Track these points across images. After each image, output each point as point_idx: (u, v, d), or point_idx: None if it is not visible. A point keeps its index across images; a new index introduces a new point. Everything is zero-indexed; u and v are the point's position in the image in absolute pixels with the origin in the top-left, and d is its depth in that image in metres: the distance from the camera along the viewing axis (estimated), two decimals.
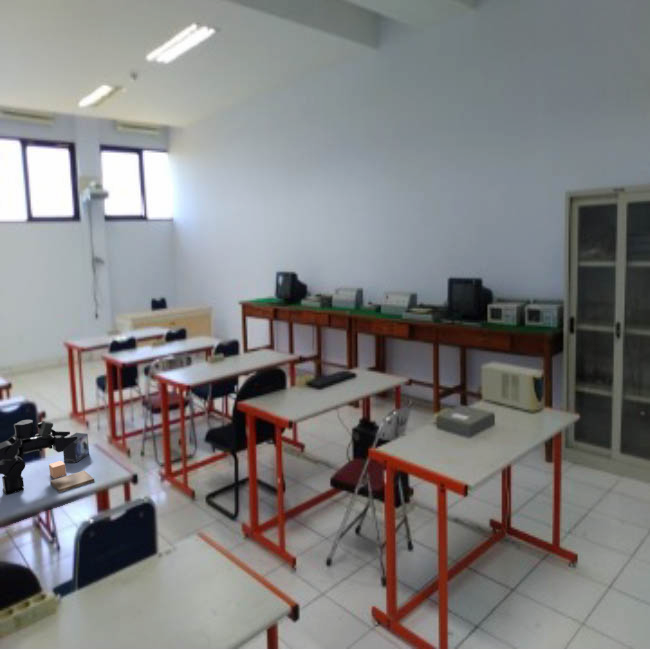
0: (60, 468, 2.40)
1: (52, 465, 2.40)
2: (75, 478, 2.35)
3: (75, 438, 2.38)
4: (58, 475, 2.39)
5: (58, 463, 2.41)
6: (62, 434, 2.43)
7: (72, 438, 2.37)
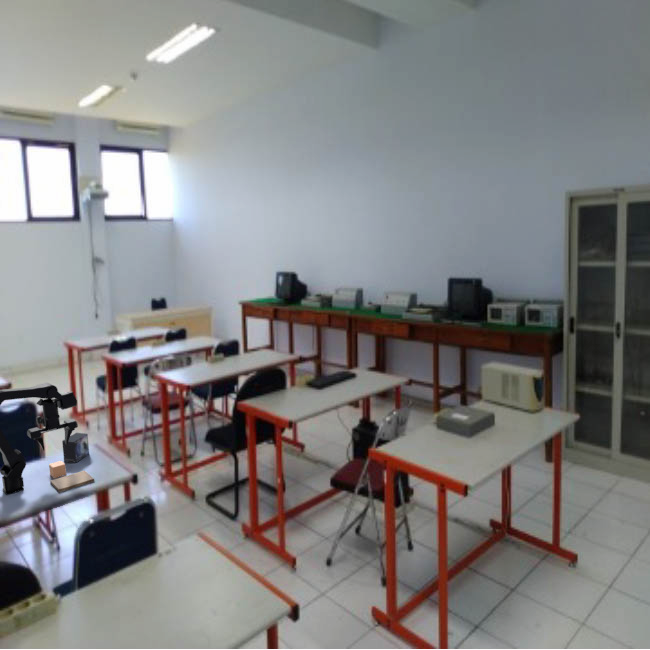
0: (60, 468, 2.40)
1: (52, 465, 2.40)
2: (75, 478, 2.35)
3: None
4: (58, 475, 2.39)
5: (58, 463, 2.41)
6: None
7: None
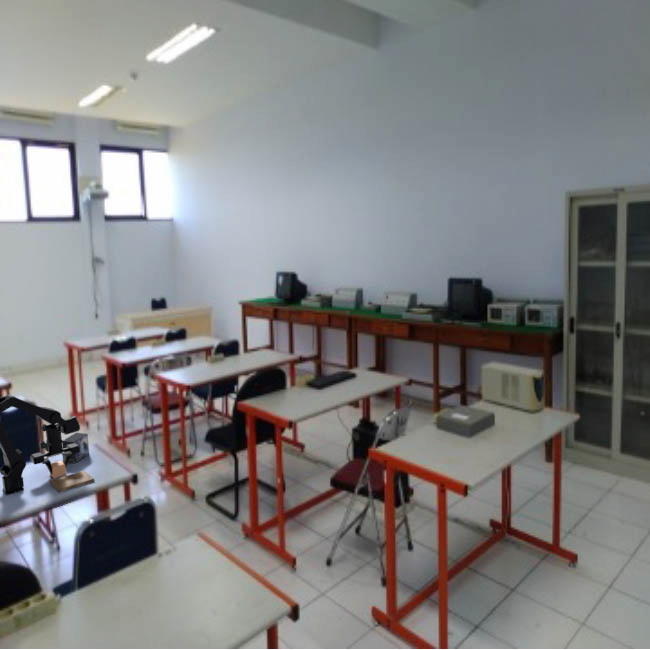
0: (60, 468, 2.40)
1: (52, 465, 2.39)
2: (75, 478, 2.35)
3: None
4: (58, 475, 2.39)
5: (58, 463, 2.41)
6: None
7: None
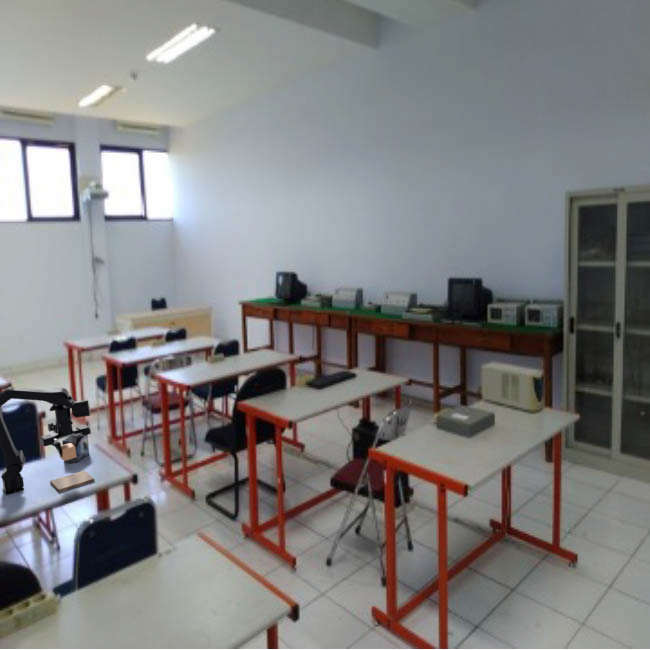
0: (71, 450, 2.32)
1: (62, 447, 2.32)
2: (75, 478, 2.35)
3: None
4: (68, 457, 2.32)
5: (68, 445, 2.33)
6: None
7: None
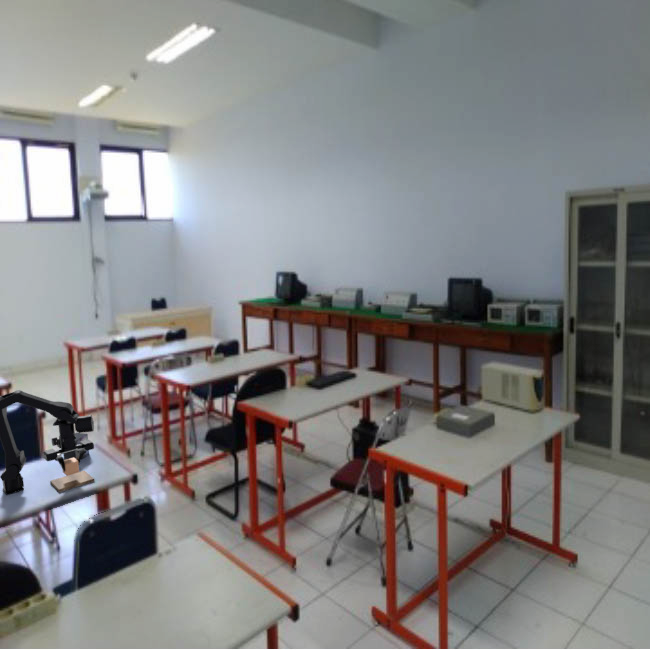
0: (73, 465, 2.31)
1: (65, 462, 2.31)
2: (75, 478, 2.35)
3: None
4: (71, 472, 2.31)
5: (71, 460, 2.33)
6: None
7: None
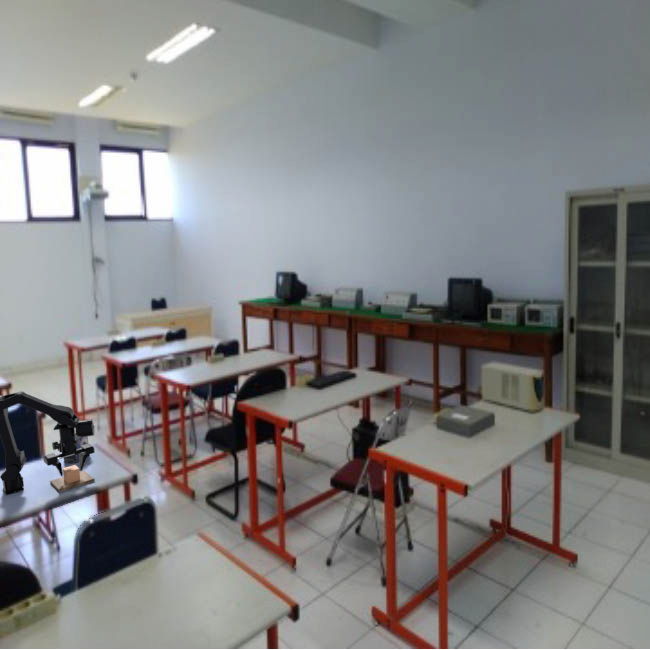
0: (74, 472, 2.32)
1: (66, 469, 2.32)
2: None
3: None
4: (72, 480, 2.32)
5: (72, 467, 2.34)
6: None
7: None
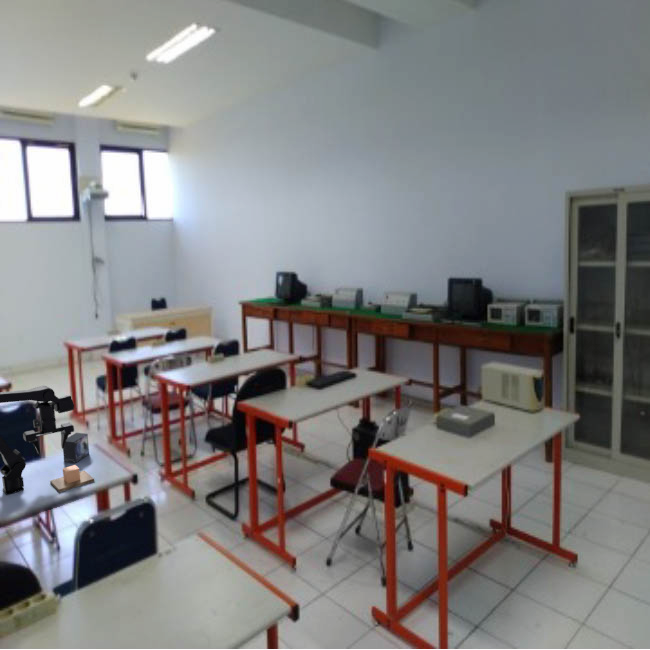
0: (74, 472, 2.32)
1: (66, 469, 2.32)
2: None
3: None
4: (72, 480, 2.32)
5: (72, 467, 2.34)
6: None
7: None
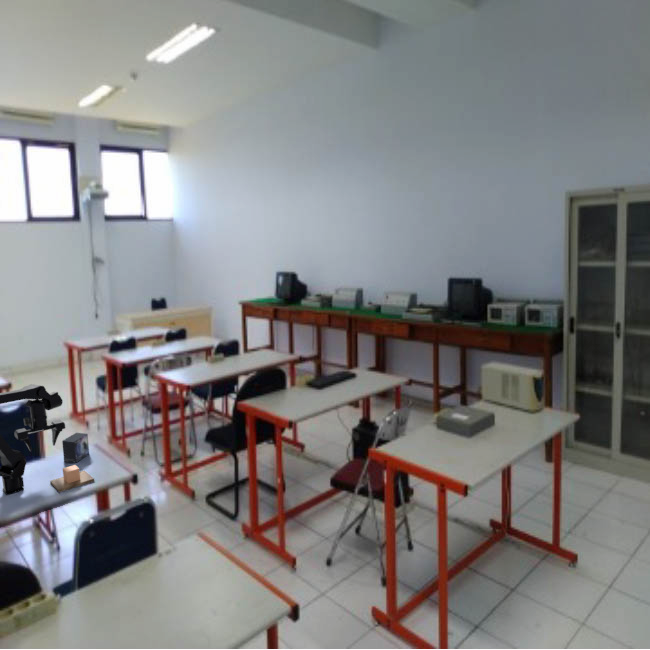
0: (74, 472, 2.32)
1: (66, 469, 2.32)
2: None
3: None
4: (72, 480, 2.32)
5: (72, 467, 2.34)
6: None
7: None
